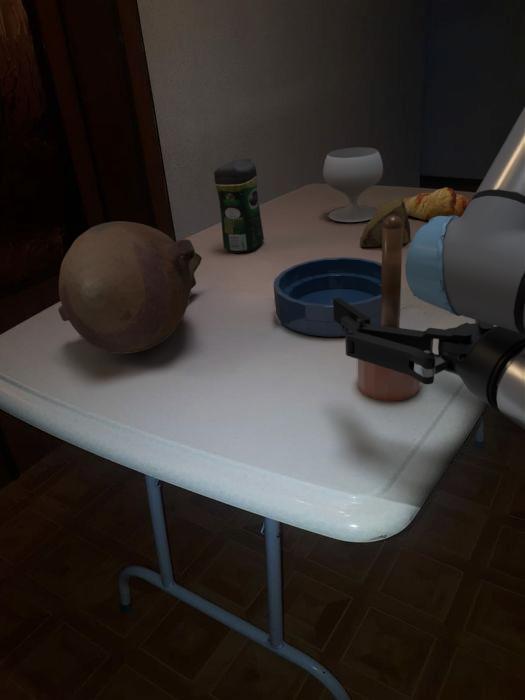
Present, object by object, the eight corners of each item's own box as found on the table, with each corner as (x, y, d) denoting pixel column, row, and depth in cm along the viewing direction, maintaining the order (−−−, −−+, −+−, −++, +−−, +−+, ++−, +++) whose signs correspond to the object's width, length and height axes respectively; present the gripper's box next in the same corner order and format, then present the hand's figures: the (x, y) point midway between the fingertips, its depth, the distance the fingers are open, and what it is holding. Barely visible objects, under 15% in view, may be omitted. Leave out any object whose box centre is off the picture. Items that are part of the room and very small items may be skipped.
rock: (351, 241, 114) (400, 238, 109) (354, 201, 115) (402, 196, 110) (367, 257, 123) (412, 254, 119) (369, 219, 124) (414, 215, 120)
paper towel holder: (412, 375, 72) (420, 209, 62) (404, 396, 68) (411, 223, 58) (374, 369, 74) (375, 208, 64) (364, 390, 70) (364, 222, 60)
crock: (425, 376, 73) (428, 336, 70) (414, 410, 67) (416, 368, 64) (366, 367, 76) (366, 329, 73) (349, 400, 70) (349, 359, 67)
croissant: (391, 230, 135) (385, 205, 129) (403, 200, 139) (398, 175, 133) (482, 236, 124) (480, 209, 118) (493, 204, 128) (492, 177, 122)
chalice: (394, 212, 136) (395, 148, 128) (358, 228, 128) (357, 161, 121) (349, 204, 145) (348, 144, 138) (313, 219, 137) (310, 156, 130)
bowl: (408, 294, 95) (409, 261, 92) (381, 350, 80) (381, 312, 77) (301, 284, 103) (299, 254, 100) (258, 333, 88) (254, 299, 85)
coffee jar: (237, 238, 130) (227, 156, 120) (268, 240, 127) (260, 155, 117) (218, 253, 122) (206, 166, 113) (251, 255, 119) (241, 166, 110)
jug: (144, 388, 77) (229, 323, 103) (156, 250, 69) (245, 218, 95) (24, 347, 82) (134, 295, 109) (22, 215, 74) (142, 194, 100)
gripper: (404, 457, 47) (294, 350, 64) (618, 373, 54) (467, 297, 72) (408, 383, 43) (289, 290, 60) (637, 304, 51) (473, 241, 68)
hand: (386, 294), depth 66 cm, fingers open, 13 cm apart
